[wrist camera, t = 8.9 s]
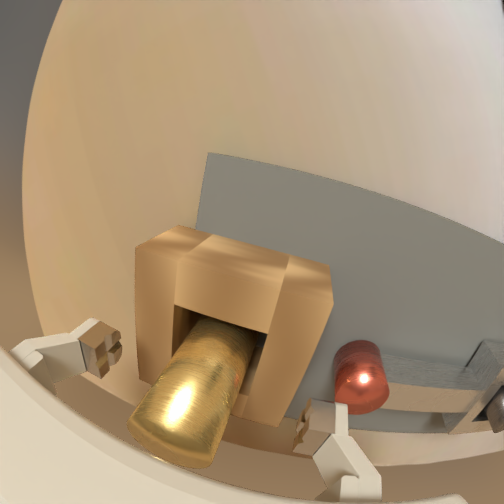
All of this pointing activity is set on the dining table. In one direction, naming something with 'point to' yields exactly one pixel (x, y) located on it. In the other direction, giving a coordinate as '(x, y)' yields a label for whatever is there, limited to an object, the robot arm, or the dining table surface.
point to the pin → (195, 394)
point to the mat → (366, 272)
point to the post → (496, 410)
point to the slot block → (232, 309)
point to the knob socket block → (419, 384)
